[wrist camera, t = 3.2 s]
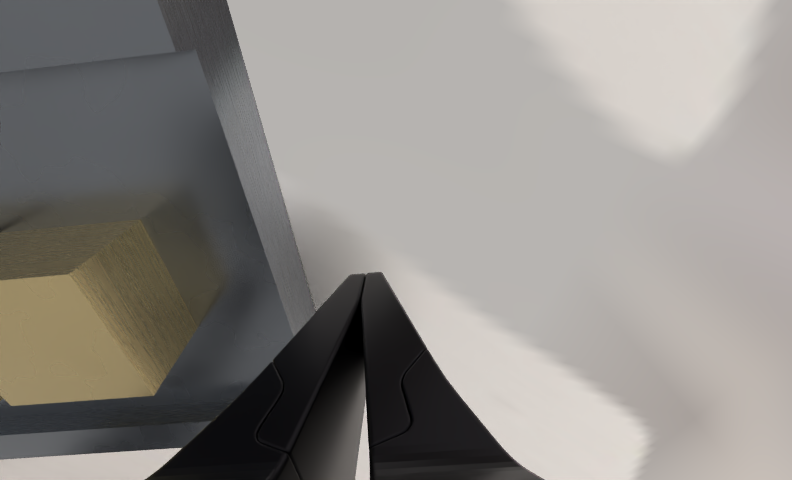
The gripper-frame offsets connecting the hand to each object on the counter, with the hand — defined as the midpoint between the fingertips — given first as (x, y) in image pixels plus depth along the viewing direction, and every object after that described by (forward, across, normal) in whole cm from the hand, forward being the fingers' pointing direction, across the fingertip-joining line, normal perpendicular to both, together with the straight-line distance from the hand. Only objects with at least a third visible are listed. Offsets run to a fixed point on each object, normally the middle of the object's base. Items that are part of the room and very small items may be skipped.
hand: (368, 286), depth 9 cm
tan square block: (+1, +8, 0) cm, 8 cm away
